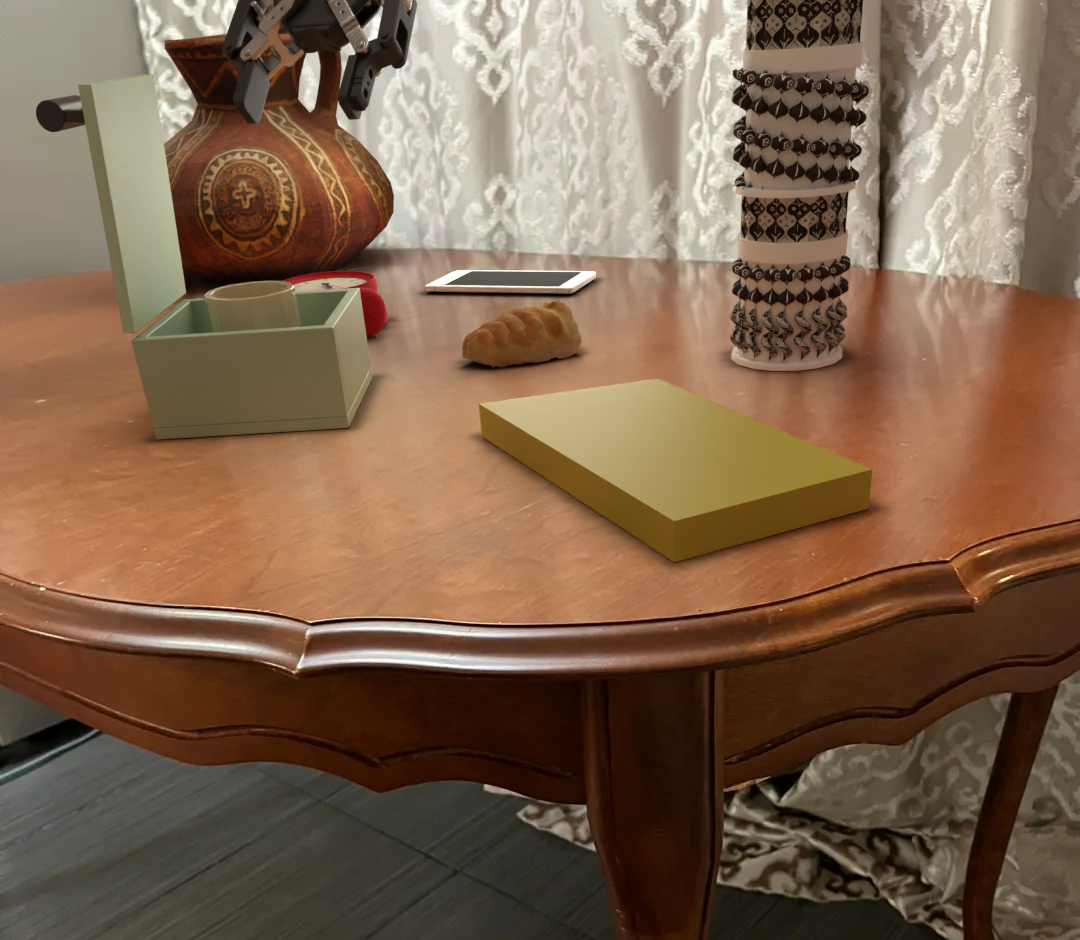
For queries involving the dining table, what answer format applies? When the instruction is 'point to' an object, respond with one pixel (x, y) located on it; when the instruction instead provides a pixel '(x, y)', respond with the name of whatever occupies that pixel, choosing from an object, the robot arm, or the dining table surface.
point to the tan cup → (252, 306)
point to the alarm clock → (344, 280)
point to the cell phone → (512, 281)
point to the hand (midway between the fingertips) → (296, 113)
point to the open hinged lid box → (256, 370)
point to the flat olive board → (676, 465)
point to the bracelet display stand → (795, 180)
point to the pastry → (525, 336)
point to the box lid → (128, 189)
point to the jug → (269, 174)
